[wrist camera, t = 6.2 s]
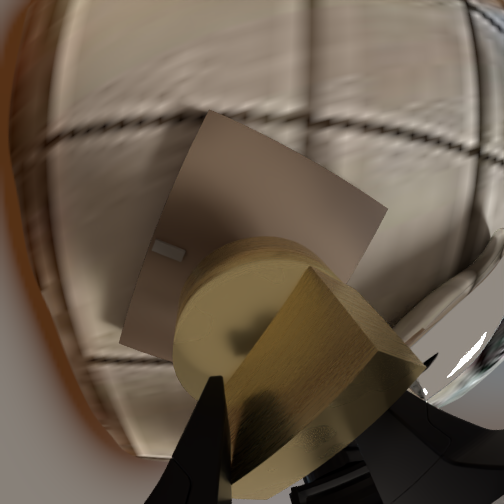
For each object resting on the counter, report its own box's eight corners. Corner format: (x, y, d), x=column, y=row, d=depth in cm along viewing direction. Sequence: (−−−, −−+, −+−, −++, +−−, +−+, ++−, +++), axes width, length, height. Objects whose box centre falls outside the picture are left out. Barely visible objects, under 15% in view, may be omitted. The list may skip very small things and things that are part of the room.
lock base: (270, 373, 20) (285, 419, 16) (123, 329, 17) (107, 376, 13) (374, 203, 16) (420, 223, 12) (209, 113, 13) (210, 98, 9)
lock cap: (227, 204, 10) (264, 305, 4) (362, 279, 12) (461, 378, 6) (146, 359, 12) (127, 491, 6) (269, 397, 14) (301, 507, 8)
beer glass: (499, 280, 21) (398, 378, 21) (480, 222, 20) (368, 324, 21) (546, 291, 14) (435, 418, 14) (531, 222, 13) (408, 359, 14)
